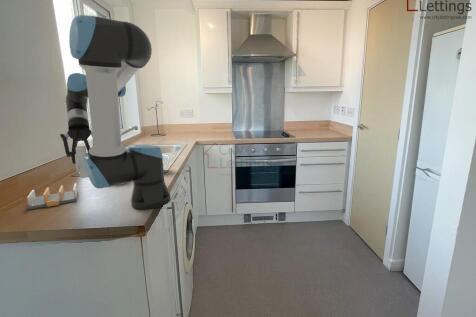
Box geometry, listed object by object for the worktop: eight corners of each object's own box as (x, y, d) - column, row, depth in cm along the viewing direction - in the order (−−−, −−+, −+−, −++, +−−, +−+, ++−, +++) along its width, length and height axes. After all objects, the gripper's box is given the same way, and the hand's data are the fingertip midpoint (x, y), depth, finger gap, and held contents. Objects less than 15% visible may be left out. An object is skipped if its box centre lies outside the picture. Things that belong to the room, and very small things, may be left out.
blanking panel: (89, 177, 100) (84, 147, 98) (80, 178, 99) (75, 148, 96) (89, 173, 105) (85, 145, 103) (81, 174, 104) (76, 146, 102)
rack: (76, 201, 107) (74, 190, 106) (28, 210, 100) (25, 198, 99) (78, 192, 118) (76, 182, 117) (35, 199, 111) (32, 189, 110)
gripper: (100, 126, 115) (107, 170, 105) (57, 129, 108) (60, 177, 97) (99, 115, 109) (106, 160, 99) (53, 117, 102) (55, 166, 91)
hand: (83, 168), depth 98 cm, fingers closed on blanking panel, 3 cm apart
